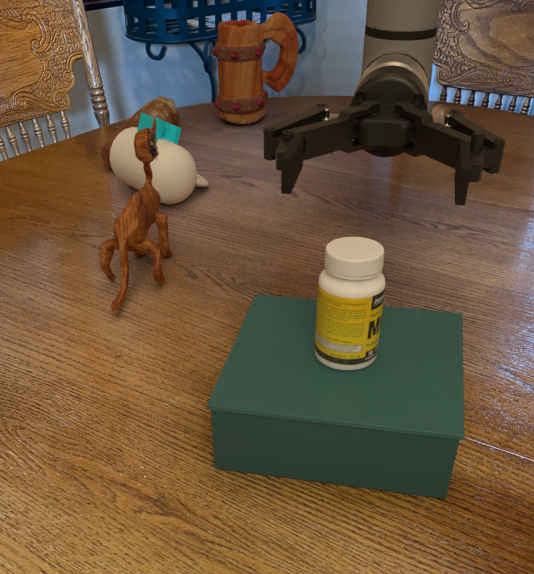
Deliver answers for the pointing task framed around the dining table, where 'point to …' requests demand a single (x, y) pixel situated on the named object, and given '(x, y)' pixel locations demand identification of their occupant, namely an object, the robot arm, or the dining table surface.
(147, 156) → the brown animal figurine
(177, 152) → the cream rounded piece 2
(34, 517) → the dining table surface
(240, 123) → the mug
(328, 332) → the supplement bottle
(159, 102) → the bread
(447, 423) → the box
